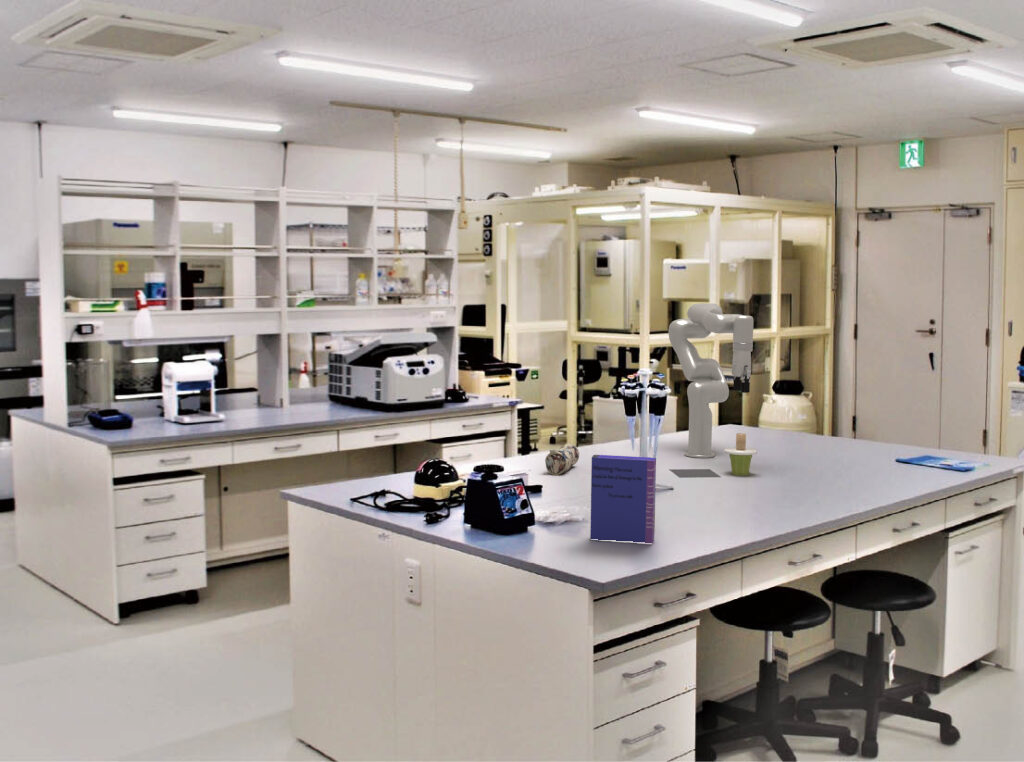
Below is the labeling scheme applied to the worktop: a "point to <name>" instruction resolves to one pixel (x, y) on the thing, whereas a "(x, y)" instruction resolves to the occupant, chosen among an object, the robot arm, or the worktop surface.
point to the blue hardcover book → (623, 498)
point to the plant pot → (740, 464)
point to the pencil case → (561, 459)
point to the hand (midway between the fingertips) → (741, 391)
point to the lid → (740, 446)
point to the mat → (694, 473)
